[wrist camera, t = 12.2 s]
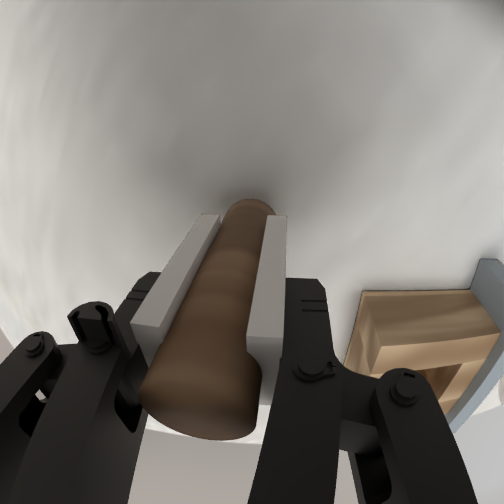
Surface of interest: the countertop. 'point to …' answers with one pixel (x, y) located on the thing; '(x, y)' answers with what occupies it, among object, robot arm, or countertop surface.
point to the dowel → (213, 339)
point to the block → (423, 338)
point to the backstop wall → (500, 358)
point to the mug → (501, 390)
